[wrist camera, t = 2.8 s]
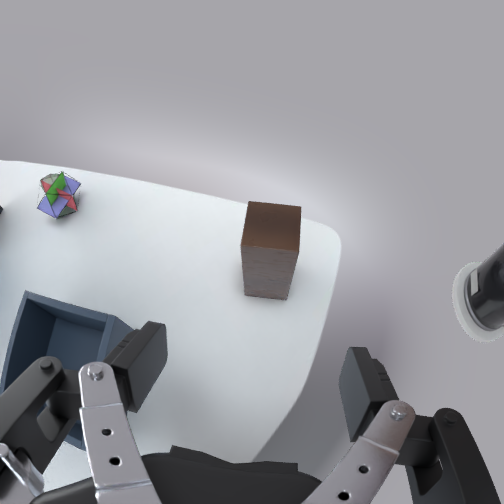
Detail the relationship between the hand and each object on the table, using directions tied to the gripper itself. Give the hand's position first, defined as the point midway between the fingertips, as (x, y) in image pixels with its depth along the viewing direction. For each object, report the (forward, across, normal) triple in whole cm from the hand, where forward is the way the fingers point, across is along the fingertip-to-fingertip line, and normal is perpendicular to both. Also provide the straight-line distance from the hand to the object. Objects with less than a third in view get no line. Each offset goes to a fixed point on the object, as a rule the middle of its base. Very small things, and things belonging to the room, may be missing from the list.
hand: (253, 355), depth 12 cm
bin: (+9, +18, +14) cm, 25 cm away
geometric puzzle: (+25, +31, -2) cm, 40 cm away
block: (+19, 0, +3) cm, 20 cm away
